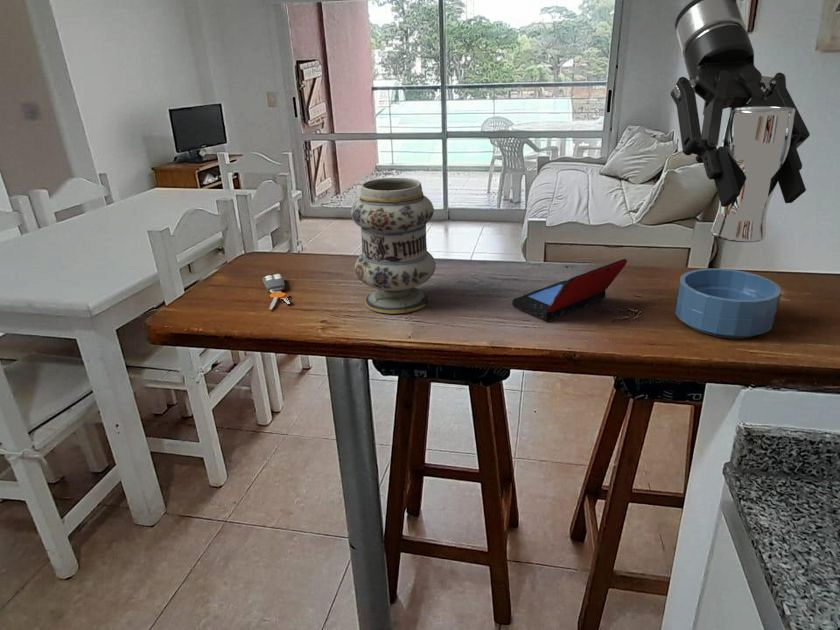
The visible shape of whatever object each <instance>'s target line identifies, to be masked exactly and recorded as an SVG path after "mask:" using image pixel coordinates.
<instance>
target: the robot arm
mask: <svg viewBox="0 0 840 630" xmlns="http://www.w3.org/2000/svg"><path fill="white" fill-rule="evenodd" d="M665 1H666V4H667V7H668V10H669V14H670V17H671V21H672V23H673V24H672V25H673V26H674V30H675V33H676V36H677V40H678V43H679V47H680V50H681V53H682V57H683V59H684V60H683V62H684V65H685V69H686V71H687V75H688V78H687V77H685V76H681V77H679V78H678V80H677V81H676V83H675V85H674V86H673V88H672V89H671V91H670V97H671V99H672V100H673V102H674V104H675V105H676V111H677V119H678V127H679V135H680V142H681V149H682V153H683V154H684V155H685V156H691V155H696V156H695V161H696V162H697V163H699V164H703V167H704V171H705V175H706V177H707V178H708V180H713V182H714V185H715V188H716V192H717V195H718V199H719V201H720V202H721V206H722V207H728V206H729V205H730V204H731V203H732V202H733V201H734V200H735V199H736V198H737V197H738V196H739V195H740V191H739V188H738V185H737V181H736V178H735V175H734V172H733V168H732V165H731V162H730V158H729V155H728V152H727V149H726V146H722V145H720V146H719V140H720V132H721V125H722V118H723V110H725V109H728V108H730V109H731V108H735V107H747V106H776V107H789V108H794V109H795V114H794V122H793V130H792V137H791V142H790V147H789V151H788V155H787V159H786V162H785V165H784V167H783V170H782V173H781V175H780V177H779V180H778V182H777V184H778V185H779V189H780V192H781V195H782V197H783V200H784V201H783V202H784V203H785V204H792V203H794V202H795V201H796V200H797V199H798V198H799V197H801V196H802V195H803V194H804V193H805V192H806V191H807V189H806V184H805V183H804V180H803V178H802V174H801V170H802V169H803V164H802V161H801V157H800V154H799V151H798V148H799V147H800V146H801V145H802V144H803V143H804V142H805V141H806V140H807V139H808V138H809V137H810V135H811V133H810V132H809V130H808V127H807V126H806V123H805V122H804V119H803V118H802V115H801V113H800V112H799V110H798V108H797V105H796V104H795V102H794V100H793V98H792V96H791V94H790V92H789V90H788V88H787V81H786V80H787V79H786V74H785V73H783V72H777V73H776V74H774V76H765V75H763V74H762V73H761V72H760V70H759V69H757V67H756V65H755V51H754V48H753V45H752V42H751V39H750V36H749V33H748V31H747V29H746V28H747V26H746V23H745V21H744V18H743V16H742V13H741V10H740V7H739V5H738V3H737V0H665ZM696 95H697V96H698V97H700V98H701V99H702V100H703V101H704V103H703V110H702V115H703V120H702V128H701V124H700V118H699V111H698V104H697V98H696V97H697V96H696Z"/></svg>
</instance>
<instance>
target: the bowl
mask: <svg viewBox="0 0 840 630" xmlns="http://www.w3.org/2000/svg"><path fill="white" fill-rule="evenodd" d="M781 295H782V289H781V286H780V285H779V284H777V283H776V282H775V281H773V280H771V279H769V278H767V277H765V276H762V275H759V274H755V273H753V272H749V271H744V270H743V271H742V270H738V269H729V268H720V267H719V268H716V267H715V268H700V269H699V268H698V269H692V270H690V271H687V272H684V273H683V274H682V275H681V276H680V277H679V283H678V290H677V296H676V302H675V311H674V314H675V316H676V317H677V318H678V319H679V320H680V321H681V322H683V323H684V324H686V325H687V326H689V328H691V329H694V330H695V331H698V332H700V333H703V334H706V335H710V336H714V337H719V338H726V339H745V338H750V337H751V338H752V337H754V336H759V335H763V334H765V333H768V332H770V331H771V330H772V328H773V327H774V325H775V321H776V316H777V312H778V308H779V304H780V299H781Z"/></svg>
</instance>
